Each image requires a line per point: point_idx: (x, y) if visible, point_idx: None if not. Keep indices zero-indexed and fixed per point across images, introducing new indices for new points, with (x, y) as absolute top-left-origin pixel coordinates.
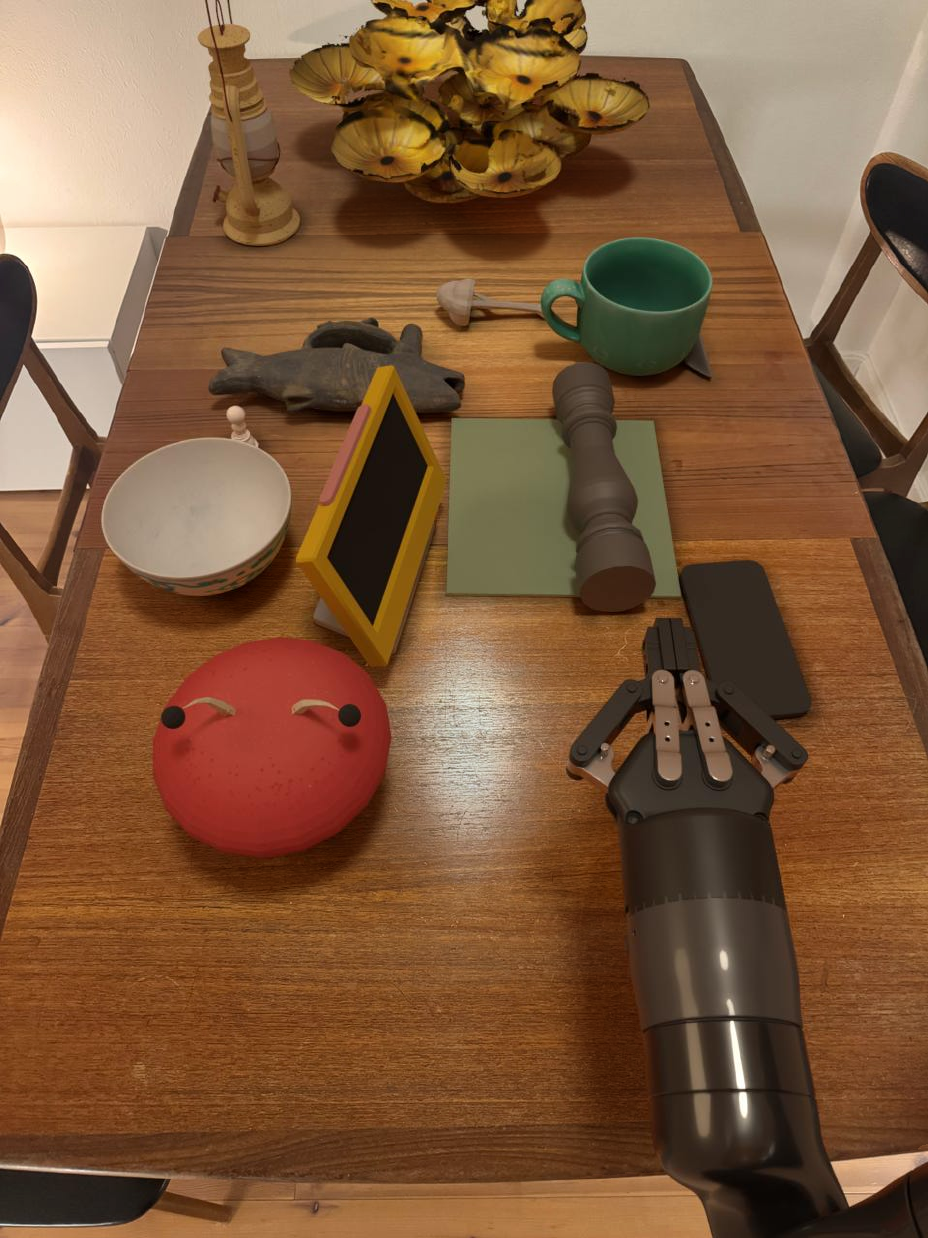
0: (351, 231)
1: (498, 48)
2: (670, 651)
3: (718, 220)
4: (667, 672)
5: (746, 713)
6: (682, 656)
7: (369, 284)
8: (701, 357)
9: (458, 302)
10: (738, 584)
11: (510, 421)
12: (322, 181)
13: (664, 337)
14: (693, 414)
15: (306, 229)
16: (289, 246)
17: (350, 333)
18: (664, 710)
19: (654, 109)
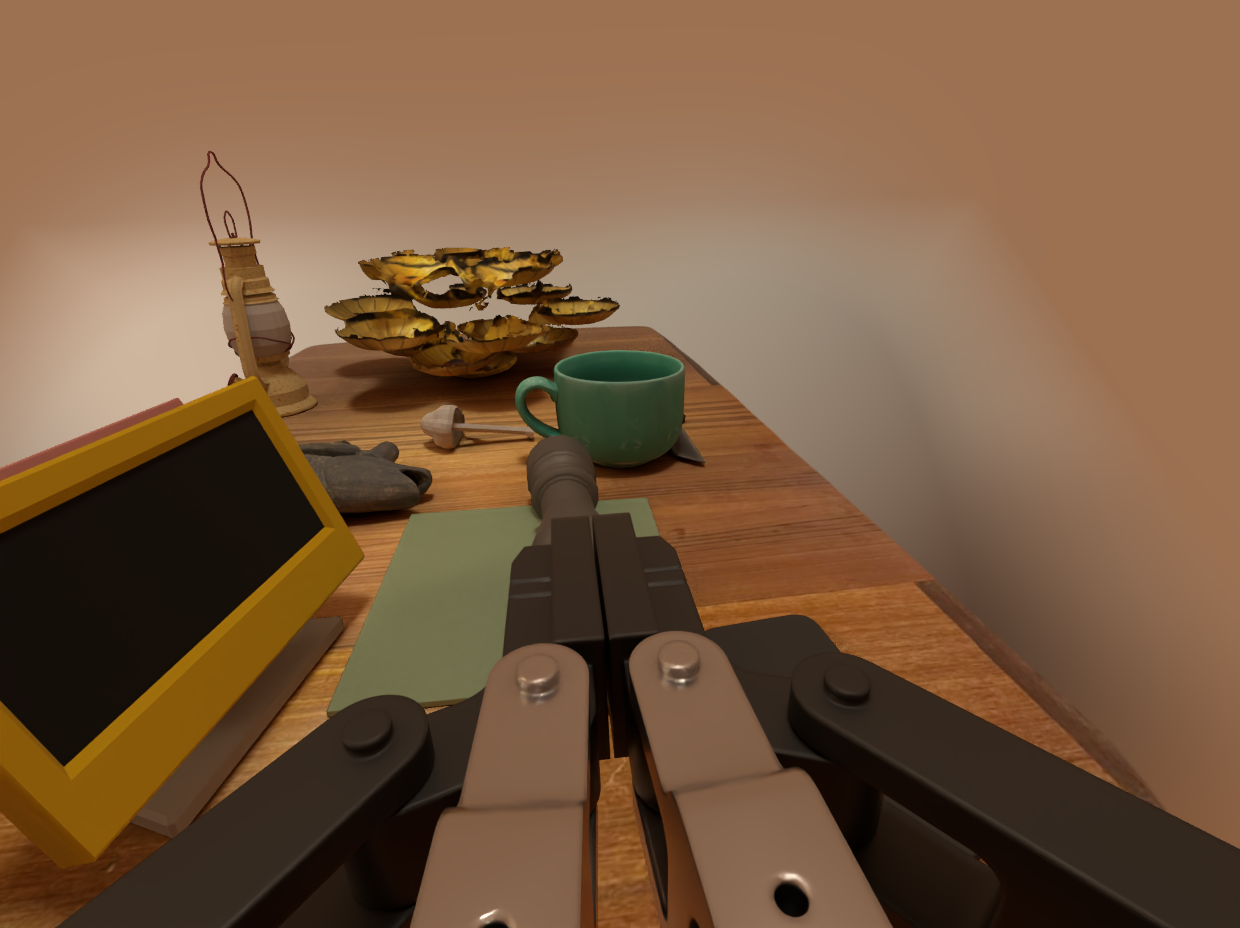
0: (362, 406)
1: (490, 268)
2: (585, 587)
3: (692, 381)
4: (562, 650)
5: (988, 792)
6: (630, 596)
7: (364, 432)
8: (691, 450)
9: (438, 421)
10: (787, 646)
11: (481, 511)
12: (350, 384)
13: (643, 411)
14: (691, 491)
15: (320, 407)
16: (297, 417)
17: (316, 454)
18: (496, 830)
19: (633, 341)
